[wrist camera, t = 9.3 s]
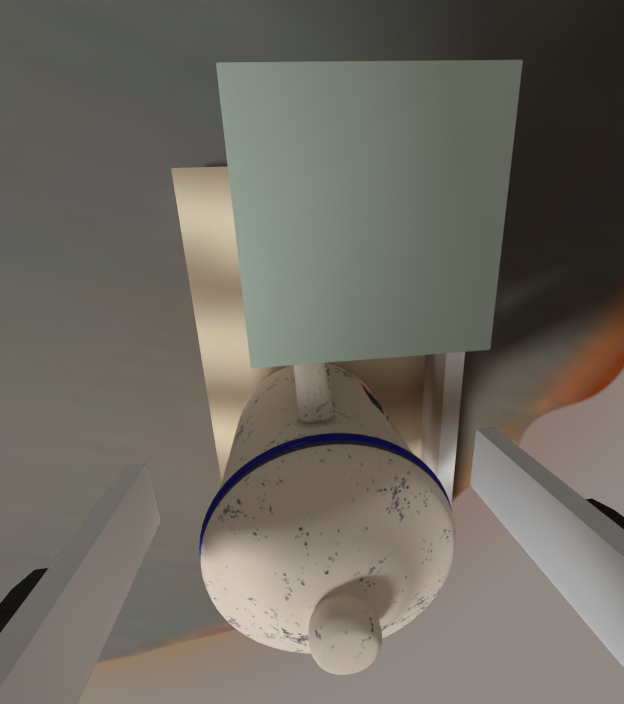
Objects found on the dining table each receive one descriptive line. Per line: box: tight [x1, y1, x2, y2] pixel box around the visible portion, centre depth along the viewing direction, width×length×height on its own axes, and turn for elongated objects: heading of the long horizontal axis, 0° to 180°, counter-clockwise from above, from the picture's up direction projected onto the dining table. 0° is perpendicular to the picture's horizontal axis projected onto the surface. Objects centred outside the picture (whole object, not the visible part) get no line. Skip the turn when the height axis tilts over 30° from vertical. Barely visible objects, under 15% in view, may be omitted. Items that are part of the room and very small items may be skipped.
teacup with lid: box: [199, 362, 455, 675], centre depth 13 cm, size 12×9×12 cm
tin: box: [216, 60, 523, 368], centre depth 12 cm, size 6×6×10 cm
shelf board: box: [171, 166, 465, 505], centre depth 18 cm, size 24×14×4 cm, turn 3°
